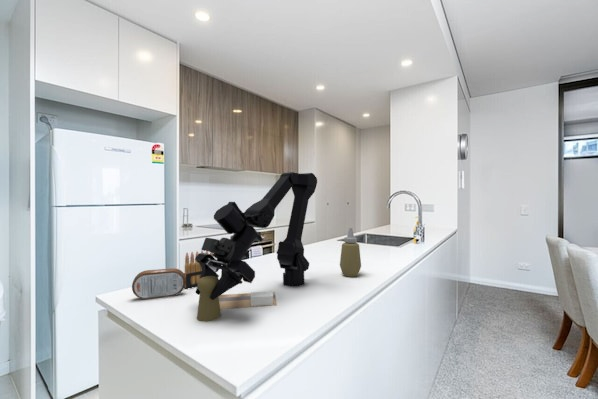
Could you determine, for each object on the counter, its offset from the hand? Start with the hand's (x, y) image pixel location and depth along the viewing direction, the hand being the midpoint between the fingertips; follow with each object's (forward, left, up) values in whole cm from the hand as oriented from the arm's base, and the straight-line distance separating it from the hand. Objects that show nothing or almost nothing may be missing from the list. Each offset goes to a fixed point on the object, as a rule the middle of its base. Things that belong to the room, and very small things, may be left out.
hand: (203, 296), depth 70 cm
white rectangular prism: (-14, -8, -5) cm, 17 cm away
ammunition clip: (+7, -31, -7) cm, 33 cm away
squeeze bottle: (-48, -34, -7) cm, 59 cm away
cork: (-1, -1, -7) cm, 7 cm away
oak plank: (-8, -11, -7) cm, 15 cm away
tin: (+17, -21, -7) cm, 28 cm away
